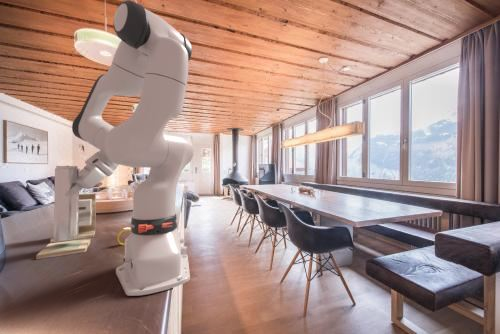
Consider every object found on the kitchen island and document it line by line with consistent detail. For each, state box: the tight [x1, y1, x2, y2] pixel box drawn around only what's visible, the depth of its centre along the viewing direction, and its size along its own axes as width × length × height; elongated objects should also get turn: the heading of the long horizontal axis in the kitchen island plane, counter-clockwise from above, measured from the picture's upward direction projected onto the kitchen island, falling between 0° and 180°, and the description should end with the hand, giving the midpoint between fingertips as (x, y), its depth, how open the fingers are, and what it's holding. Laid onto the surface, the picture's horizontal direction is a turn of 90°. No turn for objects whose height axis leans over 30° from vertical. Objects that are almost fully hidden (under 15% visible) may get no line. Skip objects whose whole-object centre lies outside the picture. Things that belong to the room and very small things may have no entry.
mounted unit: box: [49, 193, 97, 244], centre depth 86 cm, size 7×13×17 cm, turn 120°
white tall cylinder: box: [53, 165, 81, 242], centre depth 73 cm, size 6×6×25 cm
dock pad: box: [35, 238, 92, 260], centre depth 73 cm, size 12×12×1 cm
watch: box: [116, 226, 131, 246], centre depth 79 cm, size 6×3×6 cm, turn 129°
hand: (64, 195), depth 73 cm, fingers closed on white tall cylinder, 6 cm apart
